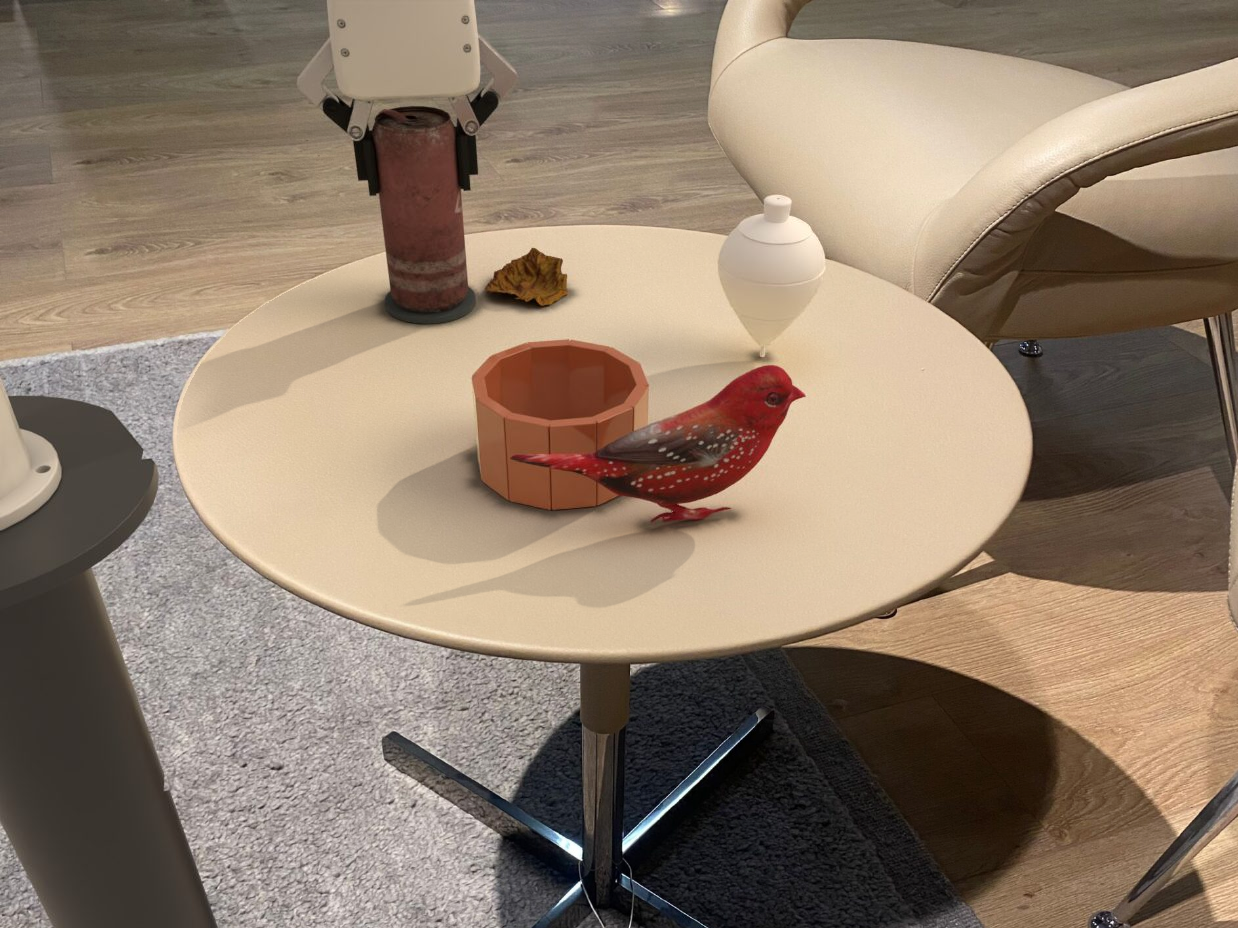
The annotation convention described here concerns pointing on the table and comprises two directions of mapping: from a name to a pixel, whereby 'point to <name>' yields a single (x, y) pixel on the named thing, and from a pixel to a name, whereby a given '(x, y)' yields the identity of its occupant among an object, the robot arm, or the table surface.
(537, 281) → the leaf
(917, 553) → the table surface
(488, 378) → the pot
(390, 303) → the coaster
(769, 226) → the spinning top
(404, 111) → the can
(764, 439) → the decorative bird figurine
